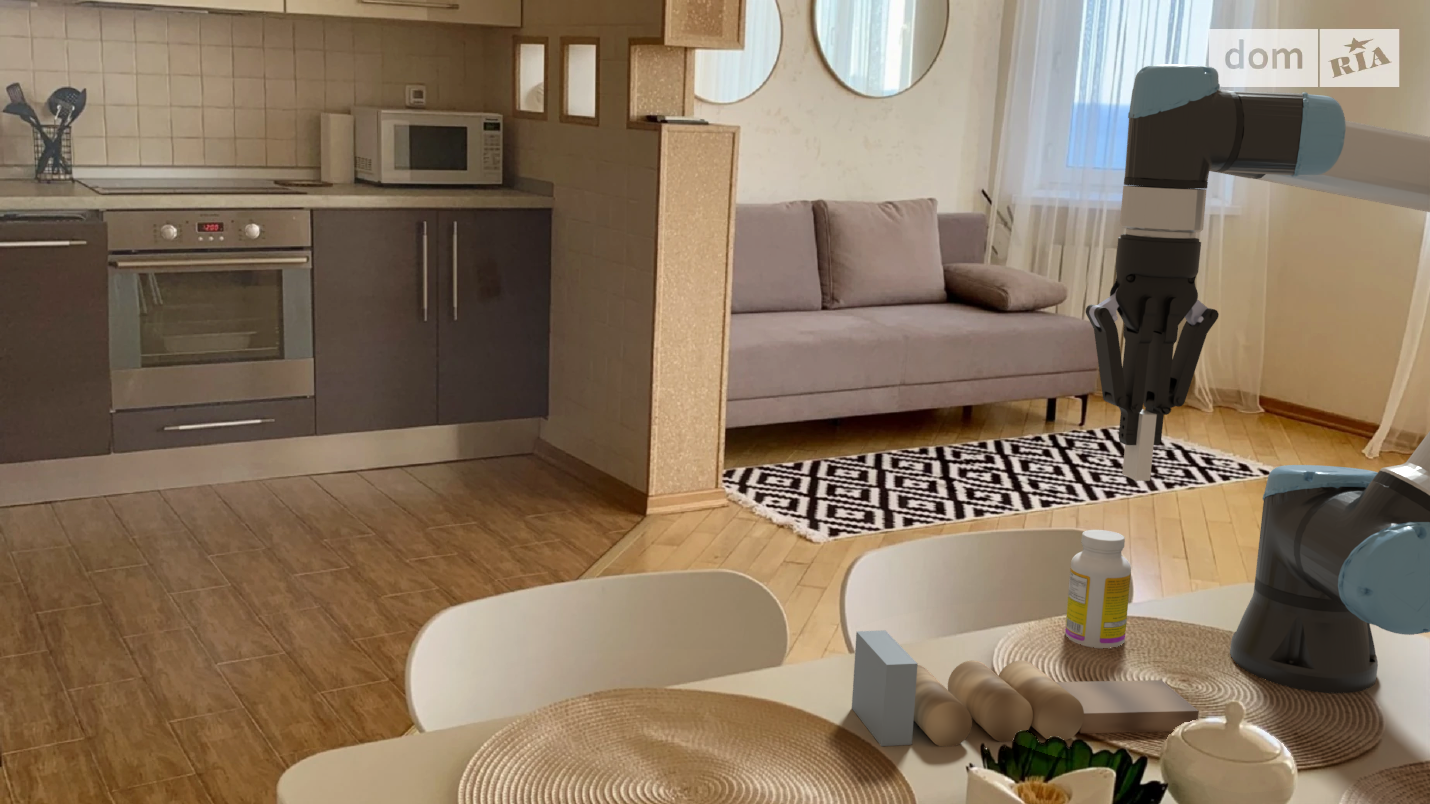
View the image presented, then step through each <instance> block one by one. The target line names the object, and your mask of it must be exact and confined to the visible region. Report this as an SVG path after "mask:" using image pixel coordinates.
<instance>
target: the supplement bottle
mask: <svg viewBox="0 0 1430 804" xmlns="http://www.w3.org/2000/svg"><path fill="white" fill-rule="evenodd" d="M1125 539H1126V538H1125V536H1124V535H1122V534H1121V533H1119V532H1116V531H1111V530H1105V529H1088V530H1085V531H1083V532H1082V534H1081V542H1080V543H1081V544H1082V545H1081V546H1082V550H1081V551H1080V552H1077V553H1076V554H1075V555H1074V556H1073V557H1072V559H1071V561H1070V571H1069V583H1068V593H1067V595H1068V596H1067V606H1066V618H1065V629H1064V630H1065V634H1064V635H1065V636H1066V638H1067V637H1068V638H1069V639H1068V638H1067V639H1068V640H1070V641H1071V642H1074V643H1075V644H1078V645H1080V644H1081V646H1084V647H1088V648H1093V647H1094V649H1103V648H1108V649H1113V648H1112V647H1116V648H1119V647H1121V646H1122V645H1121V644H1123V643H1124V644H1125V642H1126V631H1127V621H1128V610H1129V608H1128V607H1129V597H1130V595H1129V594H1130V587H1131V575H1132V574H1131V573H1132V566H1131V563H1130V562H1129V560H1128V559H1127V558H1126V557H1125V556H1123V554H1122V551H1123V549H1124V548H1125V542H1126V541H1125ZM1124 644H1123V645H1124ZM1120 645H1121V646H1120ZM1118 646H1119V647H1118ZM1110 647H1111V648H1110Z"/></svg>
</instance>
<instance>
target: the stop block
mask: <svg viewBox="0 0 1430 804" xmlns="http://www.w3.org/2000/svg"><path fill="white" fill-rule="evenodd" d="M917 665H919V664H918V662H917V661H916V660H915V659H914V658H913V657H912V656H911V655H910V654H909V653H908V652H907V651H906V650H905V649H904V648H903V647H902V646H901V645H900V644H899V643H898V641H896V640H895V639H894V638H893V636H891V634H890V633H889V632H888V631H887V630H885V629H884V630H864V631H863V630H858V631H856V633H855V651H854V664H853V679H852V680H853V681H852V682H853V683H852V684H853V685H852V694H851V695H852V697H851V698H852V699H851V710H852V711H854V713H855V715H856V716H858V718H859V719H860V721H861V722H862V723H863V724H864V726H865V727H866V728H867V729H868V731H869V733H870V734H871V735H872V736H873V738H874V739H875V740H876V741H877V743H878V744H879V745H880V747H889V746H890V747H892V746H907V745H913V736H914V735H913V733H914V731H913V730H914V722H915V721H914V707H915V693H916V679H917Z"/></svg>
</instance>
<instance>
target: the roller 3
mask: <svg viewBox="0 0 1430 804" xmlns="http://www.w3.org/2000/svg"><path fill="white" fill-rule="evenodd" d="M998 676H999V677H1000V678H1001V679H1002V680H1004V681H1005V682H1006V683H1007V684H1008V685H1010V686H1011V687H1012V688H1013V689H1014V690H1015V691H1017V692H1018V693H1019V694H1020V695H1021V696H1023V697H1024V698H1025V699H1026V700H1027V701H1028V702H1029V703H1030V705H1031V707H1032V711H1033V719H1032V723H1031V726H1030V727H1032V728H1033V729H1034V730H1036V731H1037V732H1038V733H1039V734H1040V736H1041V737H1043V738H1045V739H1046V740H1047V739H1048V738H1049V737H1050V736H1059V737H1061V738H1062V739H1064V740H1065V741H1069V740H1070V739H1072V738H1073V737H1075V736H1076V734H1077V733H1078V732H1079V729H1080V728H1081V726H1082V723H1083V719H1084V710H1083V706H1082V704H1081V703H1080V701H1079V700H1078V699H1076V698H1075V697H1074V696H1073V695H1071V694H1070V693H1069V692H1067V691H1066V690H1065V689H1064V688H1062V687H1061V686H1060V685H1059V684H1057V683H1056V682H1057V681H1055V680H1053V679H1052V678H1051V677H1050V676H1048V675H1047V674H1046V673H1045V672H1043V671H1042V670H1040V668H1038V667H1037V666H1035V664H1033V662H1030V661H1028V660H1024V659H1022V660H1021V659H1019V660H1015V661H1012V662H1010V663H1008V664H1007V665H1005V666H1004V667H1003V668H1002V669H1001V671H1000V672H999V674H998Z"/></svg>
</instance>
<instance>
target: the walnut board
mask: <svg viewBox="0 0 1430 804" xmlns="http://www.w3.org/2000/svg"><path fill="white" fill-rule="evenodd" d="M1055 682H1056V683H1057V684H1059V685H1060V686H1061V687H1062V688H1064V689H1065V690H1066V691H1067V692H1069V693H1070V694H1071V695H1073V696H1074V697H1075V698H1076V699H1078V700H1079V701H1080V703H1081V704H1082V706H1083V710H1084V719H1083V723H1082V726H1081V728H1080V729H1079V731H1078V732H1079V733H1080V734H1100V733H1102V734H1105V733H1106V734H1107V733H1108V734H1109V733H1112V734H1113V733H1141V732H1142V733H1145V732H1146V733H1151V732H1156V733H1157V732H1173V731H1172V730H1173V729H1175V727H1177V726H1179V725H1181V724H1182V723H1184V722H1190V721H1192V720H1196V719H1198V720H1199V712H1200V711H1199V710H1198V709H1197V708H1196V707H1195V706H1193V705H1192V704H1191V703H1190V702H1189V701H1188V700H1186V699H1185V698H1184V697H1183V696H1181V695H1180V694H1179V693H1178V692H1177V691H1175V690H1174V689H1173V688H1172V687H1171V686H1170V685H1168V684H1167V683H1166V682H1165V681H1163V680H1162V679H1156V680H1155V679H1154V680H1153V679H1151V680H1149V679H1148V680H1145V679H1143V680H1099V681H1098V680H1095V681H1094V680H1093V681H1092V680H1091V681H1086V680H1085V681H1055Z"/></svg>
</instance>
